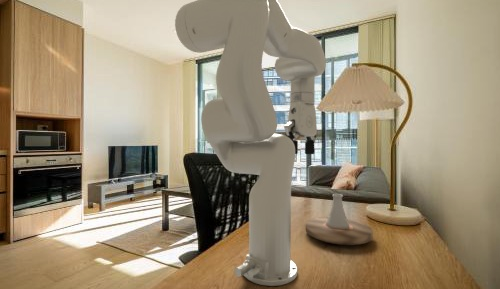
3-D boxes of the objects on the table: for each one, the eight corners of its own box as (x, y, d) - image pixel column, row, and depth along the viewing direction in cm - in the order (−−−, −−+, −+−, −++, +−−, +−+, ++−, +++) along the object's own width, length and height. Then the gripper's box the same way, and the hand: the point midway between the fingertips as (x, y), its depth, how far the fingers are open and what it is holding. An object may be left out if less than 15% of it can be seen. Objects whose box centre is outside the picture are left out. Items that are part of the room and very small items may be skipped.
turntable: (359, 251, 66) (359, 243, 66) (293, 232, 79) (293, 226, 79) (380, 231, 81) (380, 225, 81) (321, 218, 94) (321, 213, 94)
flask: (351, 231, 76) (351, 197, 76) (326, 229, 77) (326, 196, 77) (347, 223, 83) (347, 193, 83) (324, 222, 84) (324, 192, 84)
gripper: (297, 94, 72) (296, 154, 71) (326, 103, 84) (325, 154, 84) (276, 97, 77) (275, 153, 77) (306, 105, 89) (305, 153, 89)
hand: (301, 154), depth 80 cm, fingers open, 9 cm apart
